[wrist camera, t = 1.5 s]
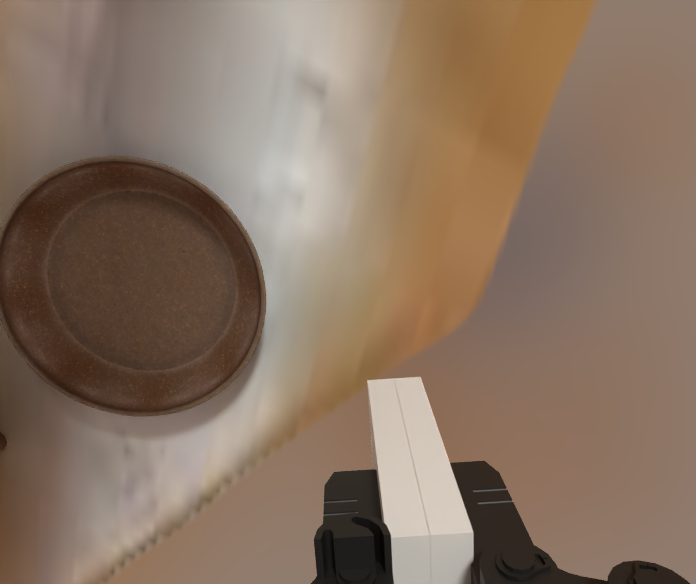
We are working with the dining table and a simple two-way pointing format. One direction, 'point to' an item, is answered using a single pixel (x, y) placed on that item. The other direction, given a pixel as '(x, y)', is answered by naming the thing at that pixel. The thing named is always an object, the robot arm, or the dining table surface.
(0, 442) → the overhang shelf
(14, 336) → the saucer
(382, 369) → the dining table surface
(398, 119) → the dining table surface
